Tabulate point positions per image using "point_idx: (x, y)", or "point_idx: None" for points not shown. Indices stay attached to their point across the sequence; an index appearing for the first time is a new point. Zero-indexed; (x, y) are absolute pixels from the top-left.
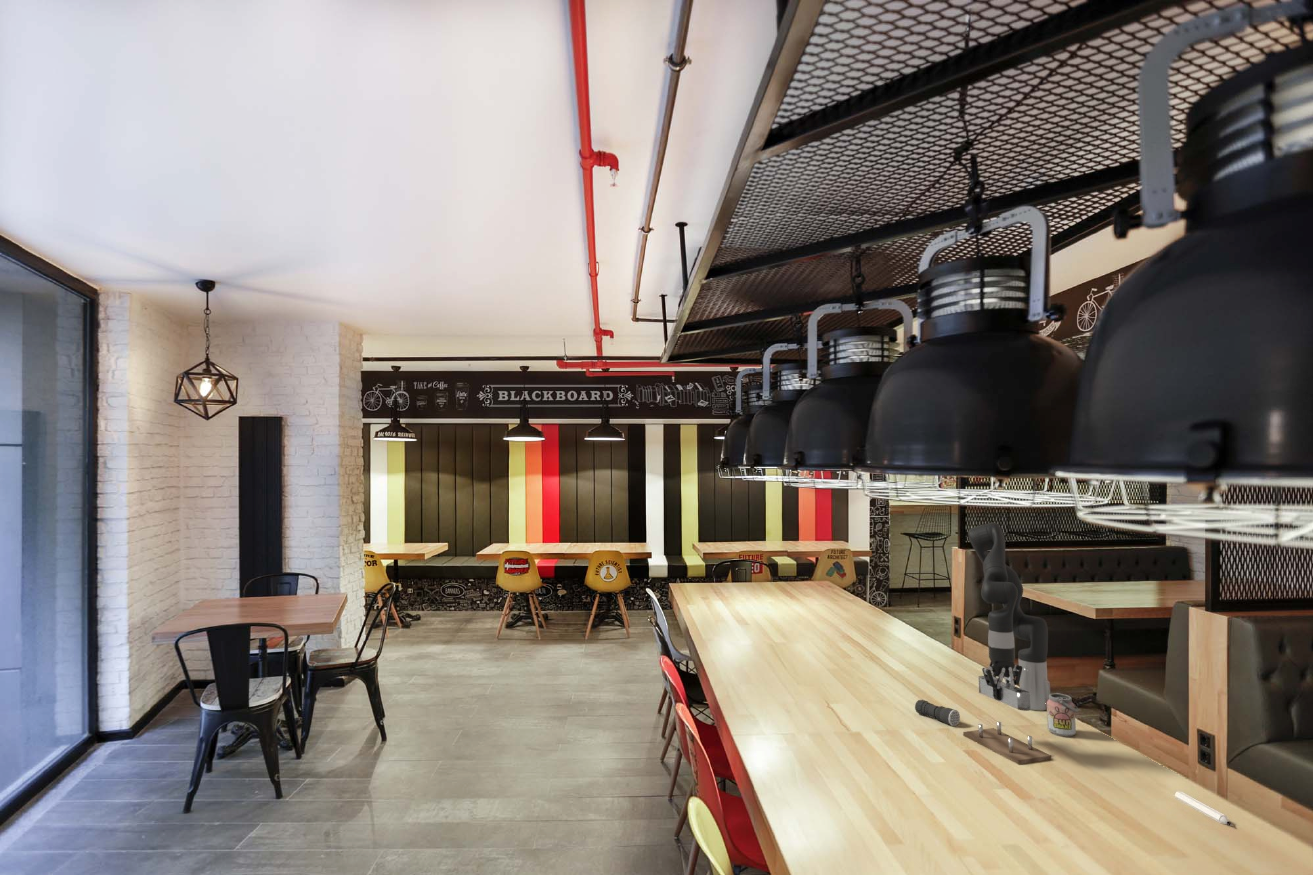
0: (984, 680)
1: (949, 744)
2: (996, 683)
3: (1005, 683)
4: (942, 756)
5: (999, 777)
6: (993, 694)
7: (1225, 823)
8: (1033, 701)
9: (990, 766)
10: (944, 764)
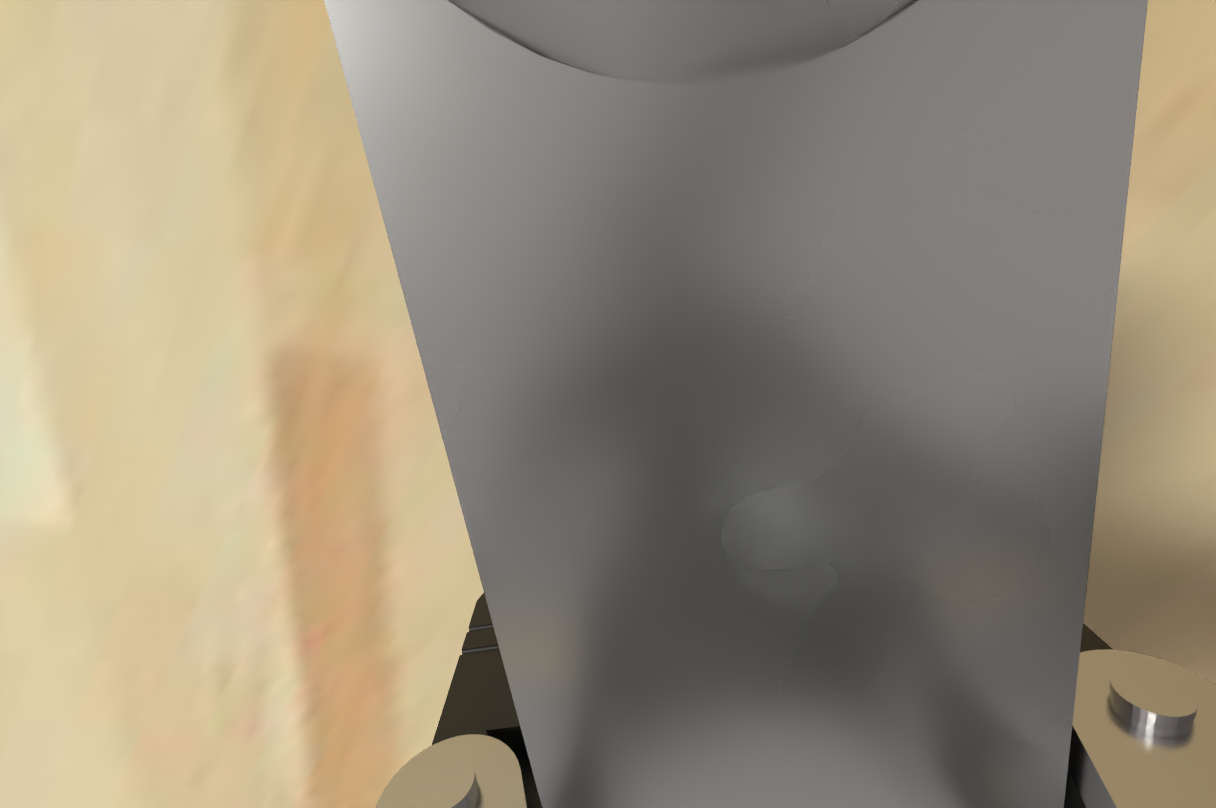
0: (384, 145)
1: (198, 224)
2: (639, 761)
3: (999, 796)
4: (70, 445)
5: (335, 750)
6: (473, 632)
7: None
8: None
9: (351, 625)
10: (50, 565)
